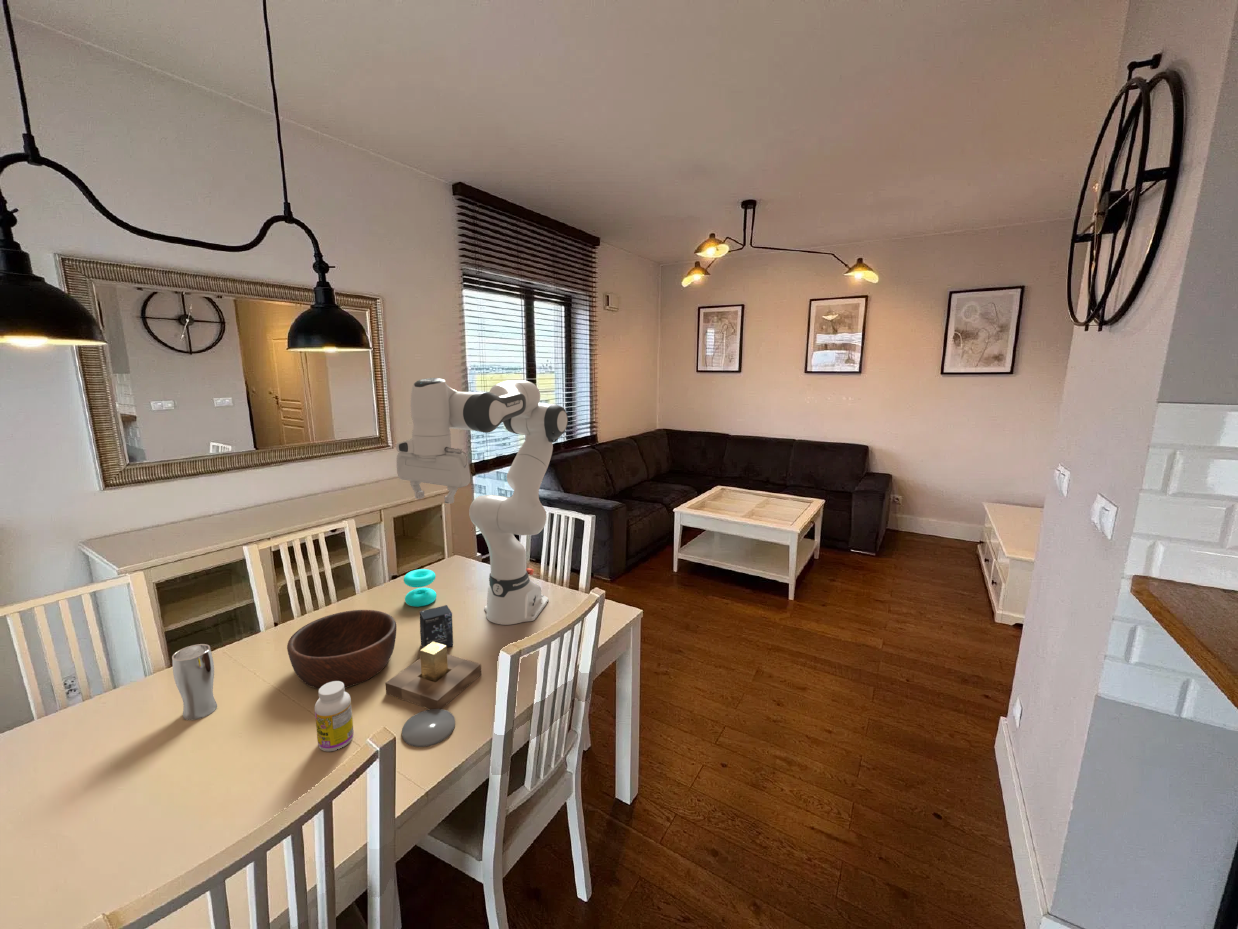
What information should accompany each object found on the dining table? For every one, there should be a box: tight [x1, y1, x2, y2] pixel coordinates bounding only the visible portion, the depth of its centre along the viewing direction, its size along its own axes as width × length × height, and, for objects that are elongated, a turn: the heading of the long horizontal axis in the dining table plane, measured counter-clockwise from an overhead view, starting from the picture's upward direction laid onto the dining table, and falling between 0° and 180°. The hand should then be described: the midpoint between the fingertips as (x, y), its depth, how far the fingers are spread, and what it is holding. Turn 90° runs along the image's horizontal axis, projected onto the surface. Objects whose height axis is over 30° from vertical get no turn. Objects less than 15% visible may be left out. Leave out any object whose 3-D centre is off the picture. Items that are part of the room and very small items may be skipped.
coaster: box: [401, 708, 456, 748], centre depth 112 cm, size 11×11×1 cm
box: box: [419, 604, 454, 649], centre depth 144 cm, size 8×6×11 cm
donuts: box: [403, 568, 437, 608], centre depth 170 cm, size 10×10×10 cm
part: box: [419, 642, 448, 683], centre depth 126 cm, size 4×4×10 cm
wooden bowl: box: [286, 609, 397, 690], centre depth 132 cm, size 25×25×10 cm
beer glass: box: [171, 643, 218, 721], centre depth 114 cm, size 7×7×15 cm
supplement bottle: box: [314, 681, 354, 752], centre depth 106 cm, size 7×7×13 cm
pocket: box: [384, 653, 482, 710], centre depth 127 cm, size 16×16×3 cm
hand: (434, 500), depth 126 cm, fingers open, 8 cm apart
